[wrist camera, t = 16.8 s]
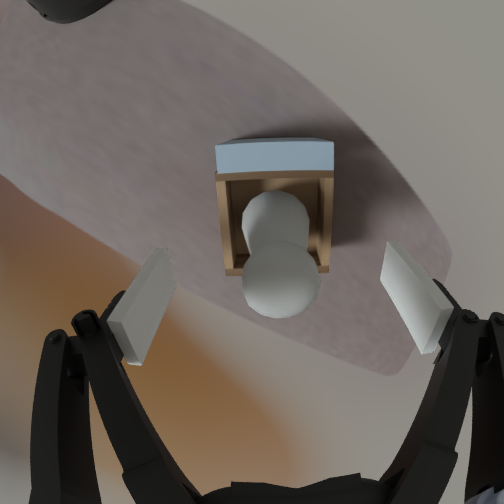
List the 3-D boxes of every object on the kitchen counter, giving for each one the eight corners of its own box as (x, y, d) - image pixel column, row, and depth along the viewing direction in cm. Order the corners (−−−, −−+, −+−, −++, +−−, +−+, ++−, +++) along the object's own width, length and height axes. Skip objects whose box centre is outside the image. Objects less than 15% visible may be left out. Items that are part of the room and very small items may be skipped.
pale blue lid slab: (229, 140, 24) (215, 145, 17) (313, 137, 24) (333, 141, 17) (231, 160, 25) (217, 173, 18) (314, 157, 25) (333, 170, 17)
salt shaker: (314, 197, 24) (357, 264, 13) (292, 250, 27) (310, 344, 15) (254, 176, 24) (244, 227, 12) (235, 232, 26) (213, 320, 15)
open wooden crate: (224, 164, 25) (215, 172, 21) (321, 161, 25) (333, 168, 20) (232, 252, 30) (226, 275, 25) (319, 249, 29) (328, 272, 24)
